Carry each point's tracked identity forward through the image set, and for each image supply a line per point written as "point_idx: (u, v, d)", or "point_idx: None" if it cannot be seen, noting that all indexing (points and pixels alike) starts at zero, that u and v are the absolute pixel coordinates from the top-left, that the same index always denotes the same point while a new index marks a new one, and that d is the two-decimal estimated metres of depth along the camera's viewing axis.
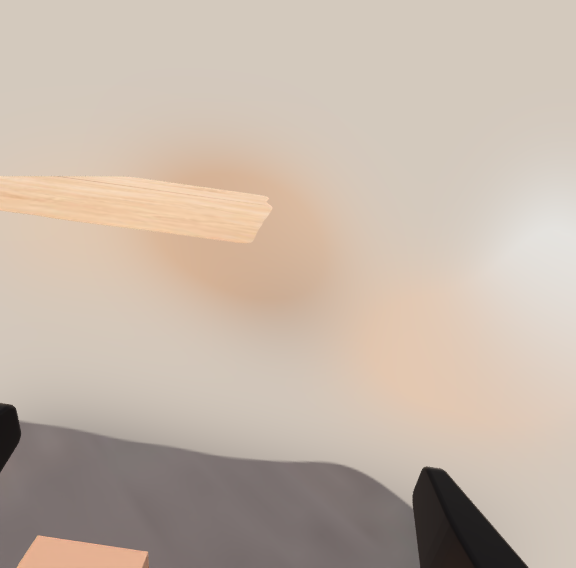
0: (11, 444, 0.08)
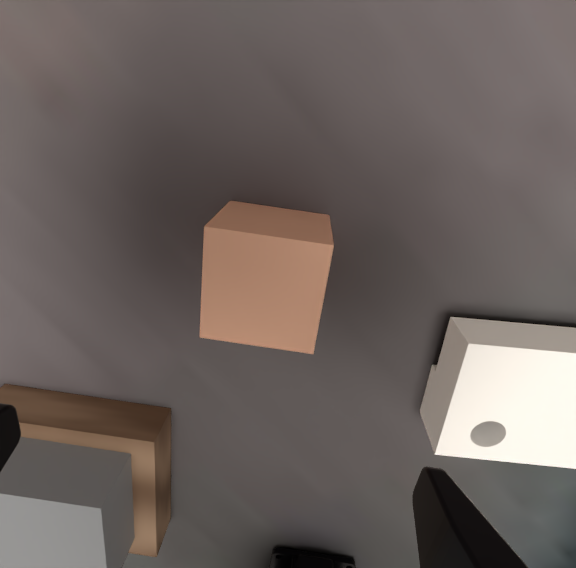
0: (11, 444, 0.08)
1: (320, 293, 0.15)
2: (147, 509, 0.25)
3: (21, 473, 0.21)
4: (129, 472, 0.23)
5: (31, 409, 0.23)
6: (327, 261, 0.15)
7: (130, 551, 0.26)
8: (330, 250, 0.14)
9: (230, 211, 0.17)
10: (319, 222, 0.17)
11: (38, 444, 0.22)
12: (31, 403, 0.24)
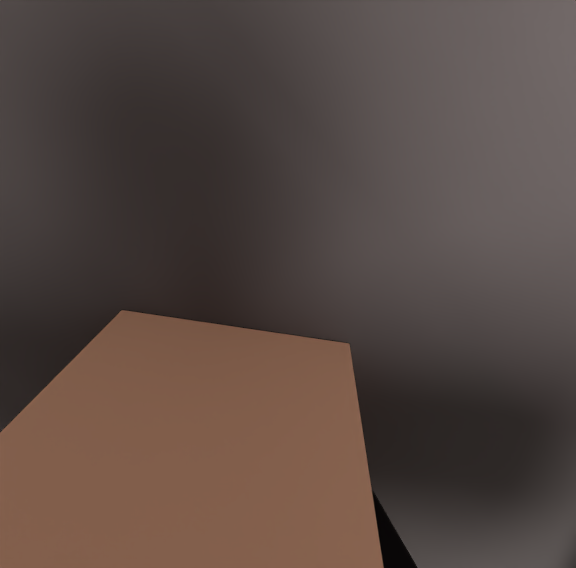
0: None
1: None
2: None
3: None
4: None
5: None
6: None
7: None
8: None
9: (86, 376, 0.06)
10: (328, 398, 0.07)
11: None
12: None
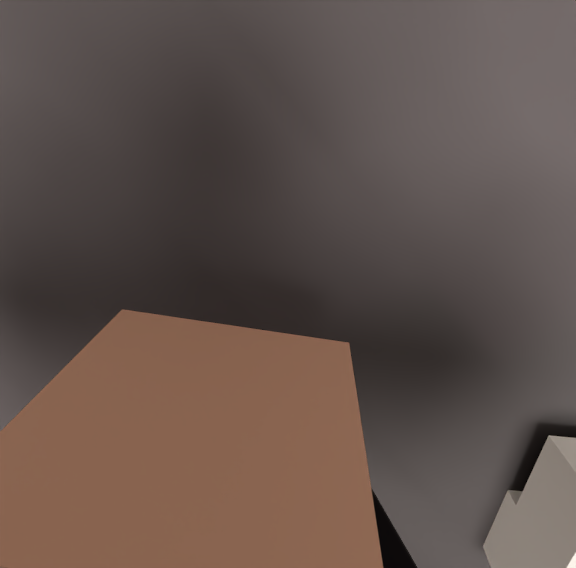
0: None
1: None
2: None
3: None
4: None
5: None
6: None
7: None
8: None
9: (86, 375, 0.06)
10: (328, 397, 0.07)
11: None
12: None
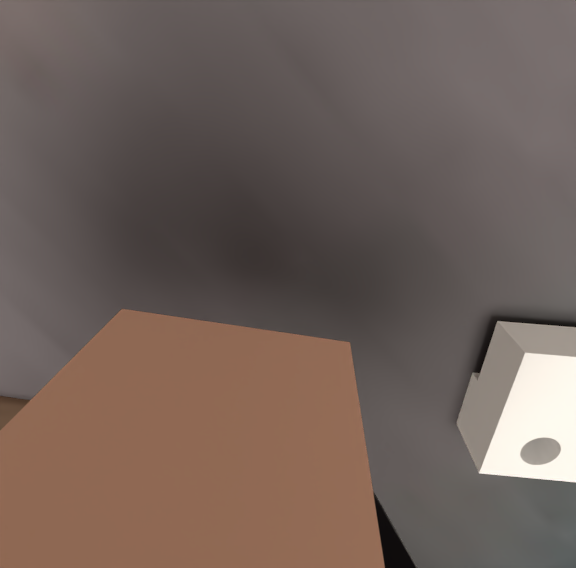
0: None
1: None
2: None
3: None
4: None
5: None
6: None
7: None
8: None
9: (86, 375, 0.06)
10: (329, 397, 0.06)
11: None
12: None
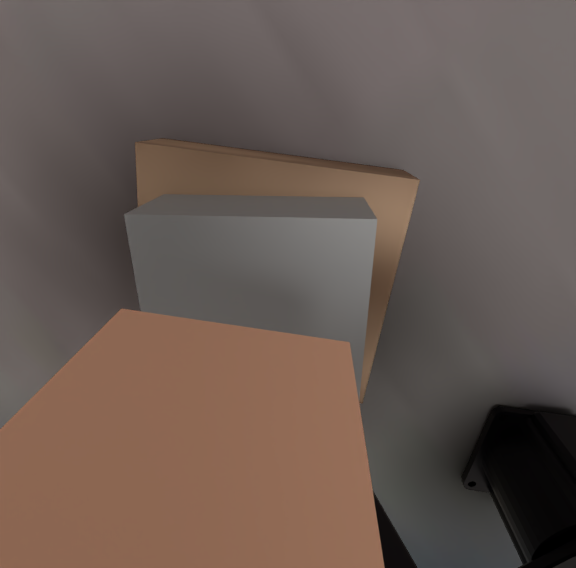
0: None
1: None
2: (372, 316, 0.17)
3: (224, 207, 0.13)
4: None
5: (218, 150, 0.15)
6: None
7: None
8: None
9: (85, 375, 0.06)
10: (329, 397, 0.06)
11: (226, 197, 0.15)
12: (212, 148, 0.16)
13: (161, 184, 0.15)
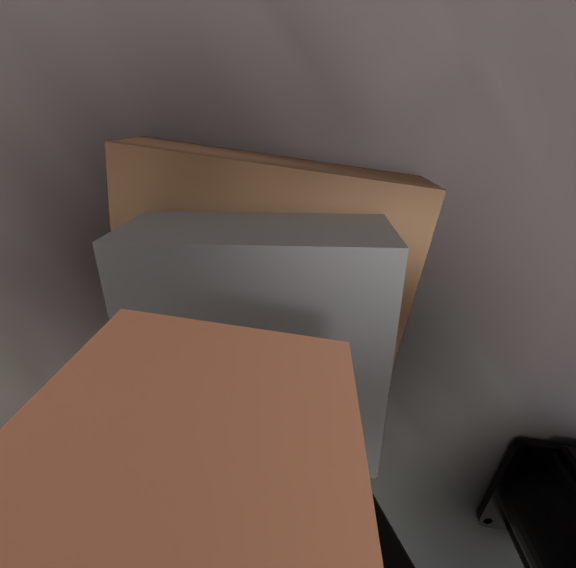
0: None
1: None
2: None
3: (217, 230, 0.11)
4: None
5: (205, 151, 0.13)
6: None
7: None
8: None
9: (84, 375, 0.06)
10: (328, 397, 0.06)
11: (220, 214, 0.12)
12: (199, 149, 0.13)
13: (137, 191, 0.13)
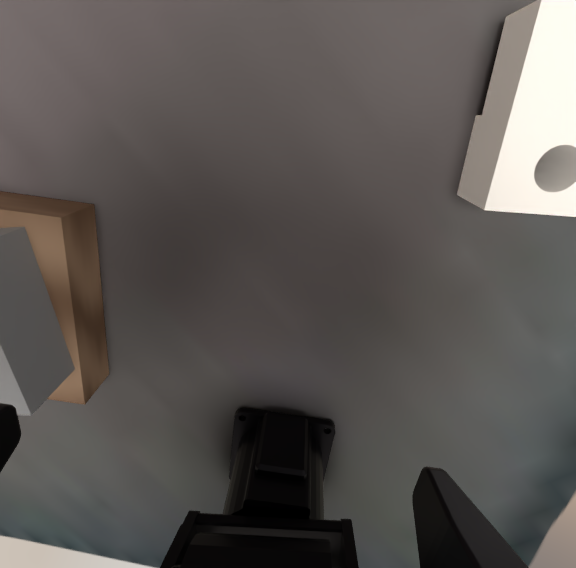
0: (11, 444, 0.08)
1: None
2: (65, 329, 0.20)
3: None
4: (29, 254, 0.18)
5: None
6: None
7: (52, 397, 0.22)
8: None
9: None
10: None
11: None
12: None
13: None
